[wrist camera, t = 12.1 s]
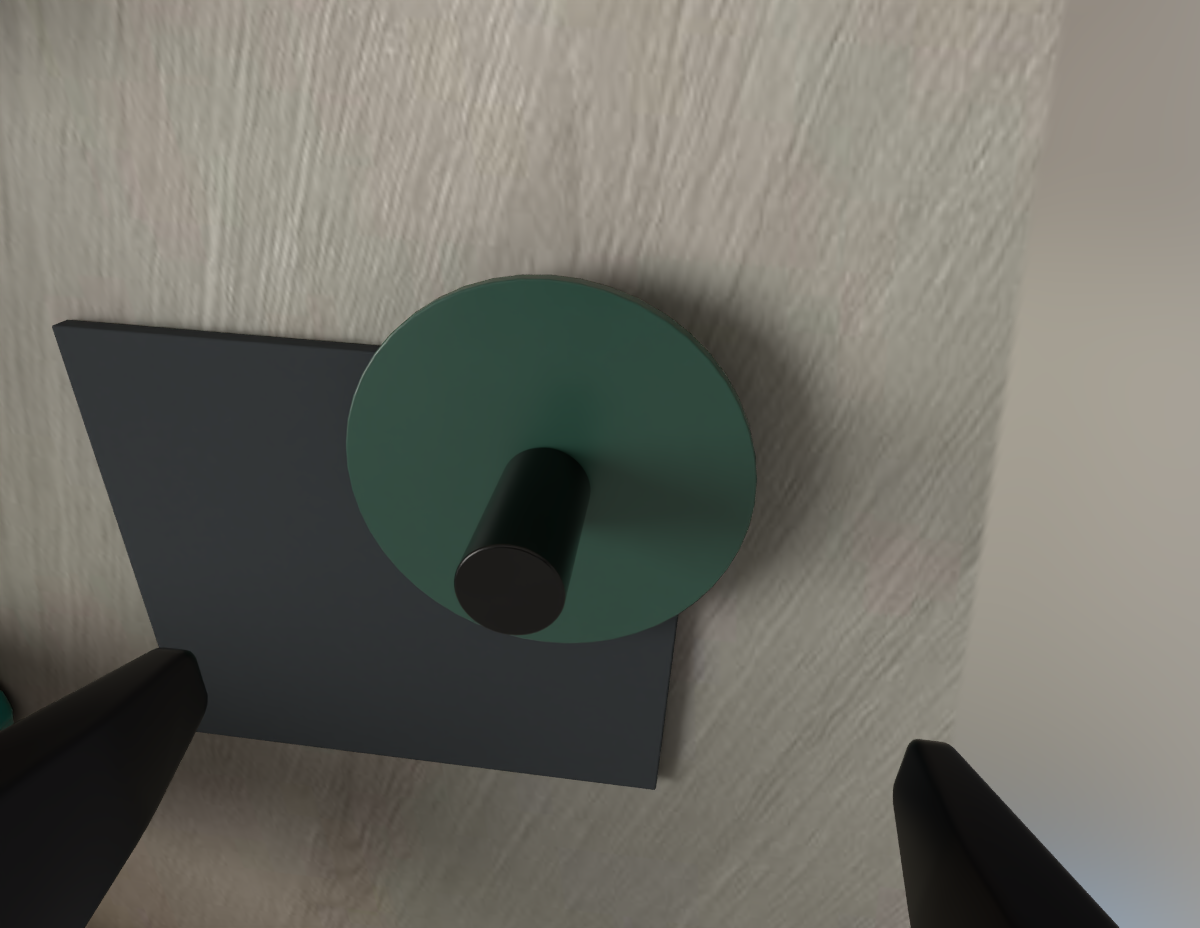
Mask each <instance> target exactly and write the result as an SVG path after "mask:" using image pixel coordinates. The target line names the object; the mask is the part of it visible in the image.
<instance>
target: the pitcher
mask: <svg viewBox="0 0 1200 928" xmlns="http://www.w3.org/2000/svg"><path fill="white" fill-rule="evenodd" d="M12 724H14V722H13V711H12V706H11V704H10V702H9V700H8V699H7V697H6V695H5V694H4V692H3V691H2V690H1V689H0V731H1V730H3V729H5V728H7V727H9V726H11V725H12Z"/></svg>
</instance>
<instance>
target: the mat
mask: <svg viewBox="0 0 1200 928" xmlns="http://www.w3.org/2000/svg"><path fill="white" fill-rule="evenodd" d="M52 328H53V331H54V334H55V337H56V340H57V343H58V346H59V349H60V352H61V355H62V358H63V361H64V364H65V367H66V370H67V373H68V376H69V379H70V382H71V385H72V388H73V391H74V394H75V397H76V400H77V403H78V406H79V409H80V412H81V415H82V418H83V421H84V424H85V427H86V430H87V433H88V436H89V439H90V442H91V445H92V448H93V451H94V454H95V457H96V460H97V463H98V466H99V469H100V472H101V475H102V478H103V481H104V484H105V487H106V490H107V493H108V496H109V499H110V502H111V505H112V508H113V511H114V514H115V517H116V520H117V523H118V526H119V529H120V532H121V535H122V538H123V541H124V544H125V547H126V550H127V553H128V556H129V559H130V562H131V565H132V568H133V571H134V574H135V577H136V580H137V583H138V586H139V589H140V592H141V595H142V598H143V601H144V604H145V607H146V610H147V613H148V616H149V619H150V622H151V625H152V628H153V631H154V634H155V637H156V640H157V643H158V646H159V648H162V647H167V648H175V649H183V650H188V651H191V652H192V653H193V654H194V655H195V657H196V659H197V662H198V665H199V668H200V672H201V675H202V678H203V681H204V684H205V687H206V691H207V694H208V703H207V708H206V712H205V714H204V717H203V719H202V721H201V723H200V725H199V727H198V729H197V730H196V732H202V733H210V734H218V735H226V736H234V737H242V738H250V739H258V740H265V741H273V742H281V743H289V744H297V745H305V746H313V747H321V748H329V749H336V750H344V751H352V752H360V753H368V754H376V755H384V756H392V757H400V758H407V759H415V760H423V761H431V762H439V763H447V764H455V765H463V766H471V767H478V768H486V769H494V770H502V771H510V772H518V773H526V774H534V775H542V776H549V777H557V778H565V779H573V780H581V781H589V782H597V783H605V784H613V785H620V786H628V787H636V788H644V789H652V790H655V789H656V783H657V775H658V767H659V760H660V752H661V744H662V736H663V728H664V721H665V713H666V705H667V697H668V690H669V682H670V674H671V666H672V658H673V651H674V643H675V635H676V627H677V619H678V615H676V616H674V617H672V618H670V619H668V620H666V621H665V622H663V623H661V624H659V625H657V626H654V627H651V628H649V629H646V630H644V631H641V632H638V633H636V634H632V635H628V636H624V637H620V638H616V639H611V640H604V641H597V642H588V643H555V642H542V641H536V640H530V639H524V638H519V637H515V636H512V635H507V634H502V633H498V632H495V631H492V630H489V629H487V628H485V627H483V626H481V625H478V624H476V623H474V622H472V621H470V620H468V619H466V618H464V617H461V616H459V615H457V614H455V613H454V612H452V611H450V610H449V609H447V608H446V607H444V606H442V605H441V604H439V603H438V602H436V601H434V600H433V599H432V598H431V597H429V596H428V595H427V594H425V593H424V592H423V591H421V590H420V589H419V588H418V587H416V586H415V585H414V584H413V583H412V582H411V581H410V580H409V579H408V578H407V577H406V576H405V575H404V574H403V573H401V572H400V571H399V569H398V568H397V567H396V566H395V565H394V564H393V562H392V561H391V560H390V559H389V558H388V557H387V555H386V554H385V553H384V552H383V550H382V549H381V547H380V546H379V544H378V543H377V541H376V540H375V538H374V537H373V535H372V534H371V532H370V530H369V528H368V526H367V524H366V522H365V520H364V518H363V516H362V514H361V512H360V510H359V507H358V504H357V501H356V498H355V496H354V493H353V490H352V485H351V481H350V476H349V471H348V465H347V452H346V436H347V423H348V416H349V412H350V408H351V403H352V399H353V395H354V393H355V390H356V388H357V386H358V383H359V381H360V378H361V376H362V373H363V372H364V370H365V368H366V367H367V365H368V363H369V362H370V360H371V358H372V357H373V355H374V353H375V352H376V351H377V350H378V348H379V347H380V346H377V345H365V344H353V343H341V342H329V341H317V340H305V339H293V338H281V337H268V336H256V335H244V334H232V333H220V332H208V331H196V330H184V329H172V328H160V327H148V326H136V325H124V324H112V323H100V322H87V321H75V320H66V321H63V322H60V323H58V324H55V325H53V326H52Z"/></svg>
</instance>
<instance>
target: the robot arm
mask: <svg viewBox="0 0 1200 928" xmlns="http://www.w3.org/2000/svg"><path fill="white" fill-rule="evenodd" d="M207 703H208V694H207V691H206V687H205V684H204V681H203V678H202V675H201V672H200V668H199V665H198V662H197V659H196V657H195V655H194V654H193V653H192V652H191V651H188V650H183V649H175V648H167V647H162V648H157V649H154V650H152V651H150V652H148V653H146V654H144V655H142V656H140V657H138V658H137V659H135V660H133V661H131V662H129V663H127V664H125V665H123V666H122V667H120V668H118V669H116V670H114V671H112V672H110V673H108V674H106V675H105V676H103V677H101V678H99V679H97V680H95V681H93V682H91V683H90V684H88V685H86V686H84V687H82V688H80V689H78V690H76V691H75V692H73V693H71V694H69V695H67V696H65V697H63V698H61V699H59V700H58V701H56V702H54V703H52V704H50V705H48V706H46V707H44V708H43V709H41V710H39V711H37V712H35V713H33V714H31V715H29V716H28V717H26V718H24V719H22V720H20V721H18V722H16V723H14V724H12V725H11V726H9V727H7V728H5V729H3V730H1V731H0V928H85V926H86V925H87V923H88V922H89V920H90V919H91V917H92V915H93V914H94V912H95V911H96V909H97V907H98V906H99V904H100V903H101V901H102V899H103V898H104V896H105V895H106V893H107V891H108V890H109V888H110V887H111V885H112V883H113V882H114V880H115V879H116V877H117V875H118V874H119V872H120V871H121V869H122V867H123V866H124V864H125V863H126V861H127V859H128V858H129V856H130V855H131V853H132V851H133V850H134V848H135V847H136V845H137V843H138V842H139V840H140V838H141V836H142V835H143V833H144V831H145V830H146V828H147V826H148V824H149V823H150V821H151V819H152V817H153V815H154V813H155V811H156V810H157V808H158V806H159V804H160V802H161V800H162V798H163V796H164V794H165V792H166V790H167V788H168V786H169V784H170V782H171V780H172V778H173V776H174V774H175V772H176V770H177V768H178V766H179V764H180V762H181V760H182V758H183V756H184V754H185V752H186V750H187V748H188V746H189V744H190V742H191V740H192V738H193V736H194V734H195V732H196V730H197V729H198V727H199V725H200V723H201V721H202V719H203V717H204V714H205V712H206V708H207ZM893 806H894V813H895V820H896V827H897V834H898V841H899V849H900V856H901V863H902V870H903V877H904V884H905V891H906V898H907V905H908V912H909V919H910V925H911V928H1119V927H1118V925H1117V924H1116V923H1115V922H1114V921H1113V920H1112V919H1111V918H1110V917H1109V916H1108V915H1107V914H1106V912H1105V911H1104V910H1103V909H1102V908H1101V907H1100V906H1099V905H1098V904H1097V903H1096V902H1095V900H1094V899H1093V898H1092V897H1091V896H1090V895H1089V894H1088V893H1087V892H1086V891H1085V890H1084V889H1083V887H1082V886H1081V885H1080V884H1079V883H1078V882H1077V881H1076V880H1075V879H1074V878H1073V877H1072V876H1071V875H1070V873H1069V872H1068V871H1067V870H1066V869H1065V868H1064V867H1063V866H1062V865H1061V864H1060V863H1059V862H1058V860H1057V859H1056V858H1055V857H1054V856H1053V855H1052V854H1051V853H1050V852H1049V851H1048V850H1047V849H1046V847H1045V846H1044V845H1043V844H1042V843H1041V842H1040V841H1039V840H1038V839H1037V838H1036V836H1035V835H1034V834H1033V833H1032V832H1031V831H1030V830H1029V829H1028V828H1027V827H1026V826H1025V825H1024V824H1023V822H1022V821H1021V820H1020V819H1019V818H1018V817H1017V816H1016V815H1015V814H1014V813H1013V812H1012V810H1011V809H1010V808H1009V807H1008V806H1007V805H1006V804H1005V803H1004V802H1003V801H1002V800H1001V799H1000V797H999V796H998V795H996V793H995V792H994V791H993V790H992V789H991V788H990V787H989V786H988V784H987V783H986V782H985V781H984V780H983V779H982V778H981V777H980V776H979V775H978V774H977V772H976V771H975V770H974V769H973V768H972V767H971V766H970V765H969V764H968V763H967V762H966V761H965V759H964V758H963V757H962V756H961V755H960V754H959V753H958V752H957V751H956V750H955V749H954V748H953V747H952V746H950V745H949V744H947V743H944V742H938V741H930V740H922V739H915V740H913V741H911V742H910V743H909V745H908V747H907V750H906V752H905V755H904V758H903V761H902V763H901V766H900V769H899V771H898V774H897V777H896V779H895V783H894V787H893Z"/></svg>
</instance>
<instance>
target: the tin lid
mask: <svg viewBox="0 0 1200 928" xmlns="http://www.w3.org/2000/svg"><path fill="white" fill-rule="evenodd" d="M346 452H347V465H348V471H349V476H350V481H351V485H352V490H353V493H354V496H355V498H356V501H357V504H358V507H359V510H360V512H361V514H362V516H363V518H364V520H365V522H366V524H367V526H368V528H369V530H370V532H371V534H372V535H373V537H374V538H375V540H376V541H377V543H378V544H379V546H380V547H381V549H382V550H383V552H384V553H385V554H386V555H387V557H388V558H389V559H390V560H391V561H392V562H393V564H394V565H395V566H396V567H397V568H398V569H399V571H400V572H401V573H403V574H404V575H405V576H406V577H407V578H408V579H409V580H410V581H411V582H412V583H413V584H414V585H415V586H416V587H418V588H419V589H420V590H421V591H423V592H424V593H425V594H427V595H428V596H429V597H431V598H432V599H433V600H434V601H436V602H438V603H439V604H441V605H442V606H444V607H446V608H447V609H449V610H450V611H452V612H454V613H455V614H457V615H459V616H461V617H464V618H466V619H468V620H470V621H472V622H474V623H476V624H478V625H481V626H483V627H485V628H487V629H489V630H492V631H495V632H498V633H502V634H507V635H512V636H515V637H519V638H524V639H530V640H536V641H542V642H555V643H588V642H597V641H604V640H611V639H616V638H620V637H624V636H628V635H632V634H636V633H638V632H641V631H644V630H646V629H649V628H651V627H654V626H657V625H659V624H661V623H663V622H665V621H666V620H668V619H670V618H672V617H674V616H676V615H678V614H679V613H681V612H682V611H684V610H685V609H686V608H688V607H689V606H691V605H692V604H694V603H695V602H696V601H697V600H699V599H700V598H701V597H702V596H703V595H704V594H705V593H706V592H707V591H708V590H709V589H711V588H712V587H713V586H714V584H715V583H716V582H717V581H718V580H719V578H720V577H721V576H722V575H723V574H724V572H725V571H726V570H727V569H728V567H729V566H730V564H731V562H732V561H733V559H734V557H735V556H736V554H737V552H738V551H739V549H740V547H741V545H742V542H743V540H744V538H745V535H746V533H747V530H748V528H749V524H750V521H751V517H752V513H753V509H754V505H755V495H756V484H757V475H756V457H755V451H754V446H753V441H752V437H751V432H750V427H749V423H748V421H747V418H746V415H745V413H744V410H743V407H742V404H741V402H740V399H739V398H738V396H737V394H736V392H735V390H734V388H733V387H732V385H731V383H730V381H729V379H728V377H727V376H726V374H725V373H724V372H723V370H722V369H721V368H720V366H719V365H718V364H717V362H716V361H715V360H714V358H713V357H712V356H711V354H710V353H709V352H708V351H707V350H706V349H705V348H704V347H703V346H702V345H701V344H700V343H699V342H698V341H697V340H696V339H695V338H694V337H693V336H692V335H691V334H690V333H689V332H688V331H687V330H685V329H684V328H683V327H682V326H680V325H679V324H678V323H676V322H675V321H674V320H673V319H671V318H670V317H669V316H667V315H666V314H664V313H663V312H661V311H659V310H658V309H656V308H654V307H652V306H651V305H649V304H647V303H646V302H644V301H642V300H640V299H638V298H636V297H634V296H631V295H629V294H626V293H624V292H622V291H619V290H617V289H615V288H612V287H609V286H605V285H602V284H598V283H594V282H591V281H587V280H584V279H578V278H571V277H564V276H557V275H515V276H507V277H500V278H492V279H489V280H485V281H481V282H478V283H474V284H470V285H467V286H464V287H461V288H459V289H457V290H455V291H452V292H450V293H448V294H446V295H443V296H441V297H439V298H437V299H436V300H434V301H432V302H431V303H429V304H428V305H426V306H425V307H423V308H421V309H420V310H418V311H417V312H415V313H414V314H413V315H412V316H411V317H409V318H408V319H407V320H406V321H405V322H404V323H403V324H401V325H400V326H399V327H398V328H397V329H396V330H394V331H393V332H392V333H391V334H390V335H389V337H388V338H387V339H386V340H385V341H384V343H383V344H382V345H381V346H380V347H379V348H378V350H377V351H376V352H375V353H374V355H373V357H372V358H371V360H370V362H369V363H368V365H367V367H366V368H365V370H364V372H363V373H362V376H361V378H360V381H359V383H358V386H357V388H356V390H355V393H354V395H353V399H352V403H351V408H350V412H349V416H348V423H347V436H346Z"/></svg>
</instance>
